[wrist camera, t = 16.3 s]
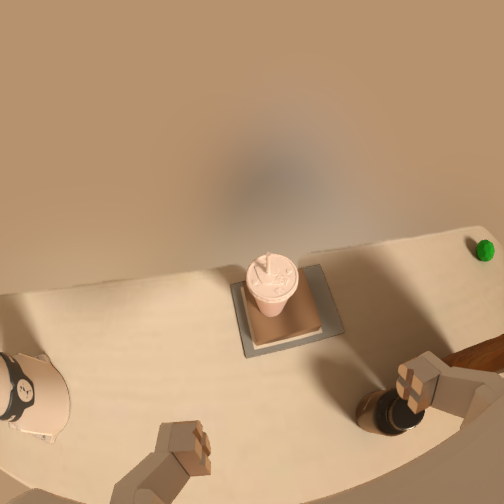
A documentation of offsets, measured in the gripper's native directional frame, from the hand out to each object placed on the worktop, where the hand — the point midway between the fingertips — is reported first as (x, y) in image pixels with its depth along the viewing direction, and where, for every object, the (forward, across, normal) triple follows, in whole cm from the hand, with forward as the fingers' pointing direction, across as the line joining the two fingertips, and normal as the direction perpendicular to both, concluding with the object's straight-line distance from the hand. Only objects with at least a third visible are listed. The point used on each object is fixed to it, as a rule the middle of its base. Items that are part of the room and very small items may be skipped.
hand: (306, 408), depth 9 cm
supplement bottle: (+18, -14, +26) cm, 35 cm away
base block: (+33, -4, +11) cm, 35 cm away
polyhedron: (+32, -53, +13) cm, 63 cm away
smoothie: (+31, -2, +9) cm, 32 cm away
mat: (+33, -5, +11) cm, 35 cm away
